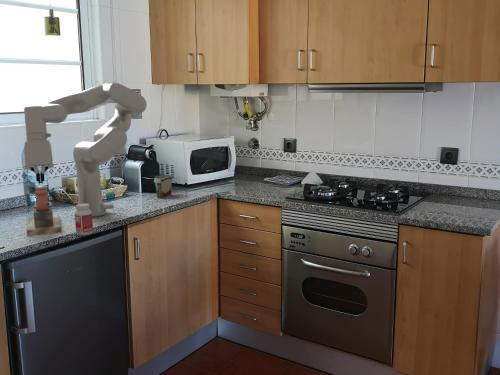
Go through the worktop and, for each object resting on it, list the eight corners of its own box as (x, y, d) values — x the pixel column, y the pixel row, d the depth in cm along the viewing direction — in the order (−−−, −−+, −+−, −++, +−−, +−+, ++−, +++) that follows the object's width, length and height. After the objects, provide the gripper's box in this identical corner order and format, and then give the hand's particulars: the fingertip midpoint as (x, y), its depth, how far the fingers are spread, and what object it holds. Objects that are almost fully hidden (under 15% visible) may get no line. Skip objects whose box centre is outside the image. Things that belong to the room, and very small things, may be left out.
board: (59, 219, 222) (58, 200, 221) (61, 232, 202) (59, 211, 201) (28, 222, 218) (27, 203, 217) (27, 235, 198) (25, 214, 197)
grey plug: (49, 206, 217) (47, 185, 215) (49, 208, 213) (47, 187, 211) (37, 207, 215) (35, 186, 214) (37, 209, 211) (35, 187, 210)
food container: (162, 193, 274) (161, 174, 272) (172, 194, 272) (172, 175, 270) (150, 198, 262) (149, 178, 261) (161, 199, 260) (160, 179, 259)
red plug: (49, 212, 207) (47, 189, 205) (49, 214, 203) (47, 191, 201) (37, 213, 205) (35, 190, 204) (37, 215, 201) (34, 192, 200)
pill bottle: (95, 231, 202) (93, 202, 200) (90, 235, 196) (88, 206, 194) (79, 231, 203) (77, 203, 201) (73, 236, 197) (71, 206, 195)
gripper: (56, 135, 215) (60, 180, 218) (16, 137, 210) (20, 183, 213) (57, 136, 208) (60, 183, 211) (15, 138, 203) (20, 186, 206)
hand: (40, 183), depth 212 cm, fingers closed
